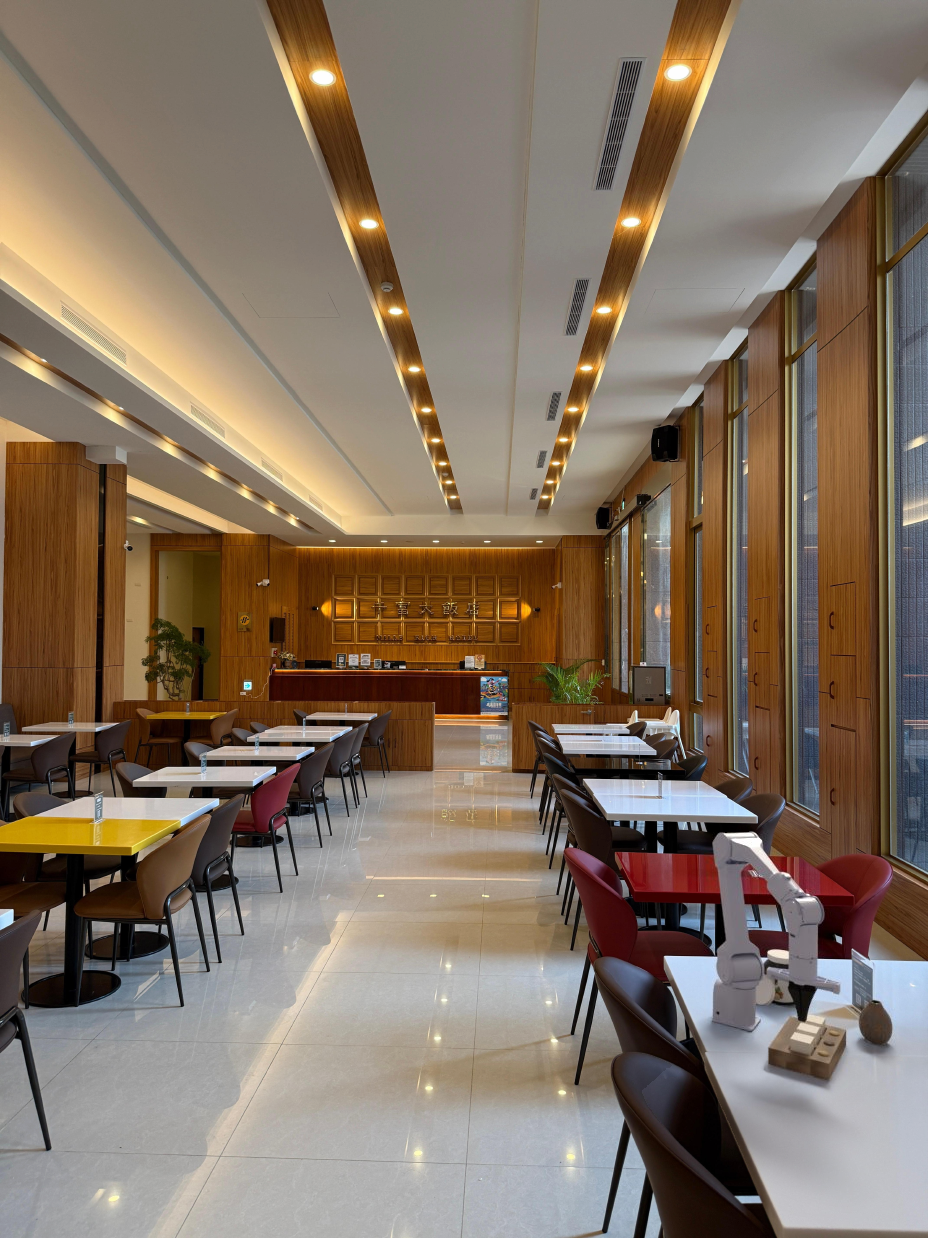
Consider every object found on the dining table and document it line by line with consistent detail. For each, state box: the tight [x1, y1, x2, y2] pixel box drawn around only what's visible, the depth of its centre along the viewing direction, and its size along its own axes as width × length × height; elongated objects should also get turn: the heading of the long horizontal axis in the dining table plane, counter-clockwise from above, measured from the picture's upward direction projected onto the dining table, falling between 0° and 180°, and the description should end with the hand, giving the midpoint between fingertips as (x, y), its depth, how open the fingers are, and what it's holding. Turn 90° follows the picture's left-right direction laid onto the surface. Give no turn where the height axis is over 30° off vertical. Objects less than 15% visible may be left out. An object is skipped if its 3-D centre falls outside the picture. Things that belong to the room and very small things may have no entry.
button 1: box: [790, 1032, 814, 1056], centre depth 178 cm, size 4×4×4 cm
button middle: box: [797, 1023, 820, 1045], centre depth 183 cm, size 4×4×4 cm
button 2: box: [803, 1013, 826, 1035], centre depth 188 cm, size 4×4×4 cm
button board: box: [767, 1016, 847, 1082], centre depth 183 cm, size 12×20×4 cm, turn 146°
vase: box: [858, 999, 894, 1046], centre depth 191 cm, size 7×7×9 cm
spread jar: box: [756, 949, 795, 1007], centre depth 212 cm, size 12×11×12 cm
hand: (802, 1020), depth 179 cm, fingers closed
